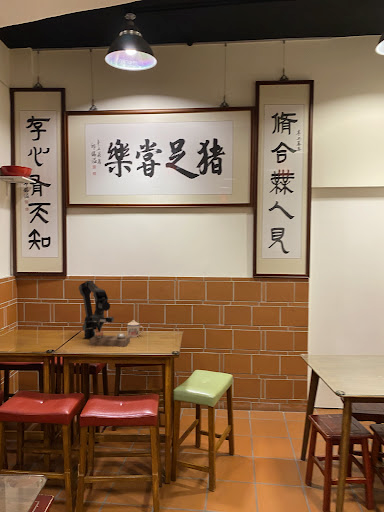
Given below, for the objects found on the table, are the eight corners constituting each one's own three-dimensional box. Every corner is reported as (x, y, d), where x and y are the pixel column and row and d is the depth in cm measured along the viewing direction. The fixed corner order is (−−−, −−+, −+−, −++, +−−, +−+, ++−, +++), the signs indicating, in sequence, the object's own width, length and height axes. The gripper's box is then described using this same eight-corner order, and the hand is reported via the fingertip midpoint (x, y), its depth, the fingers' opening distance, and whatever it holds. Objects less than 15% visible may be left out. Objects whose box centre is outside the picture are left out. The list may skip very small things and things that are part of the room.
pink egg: (94, 341, 264) (94, 332, 264) (96, 340, 269) (97, 330, 269) (101, 342, 264) (101, 332, 263) (104, 340, 269) (104, 331, 268)
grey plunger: (115, 344, 262) (116, 335, 262) (118, 342, 268) (118, 333, 267) (123, 344, 262) (123, 335, 262) (125, 343, 267) (125, 333, 267)
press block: (89, 345, 261) (89, 339, 261) (96, 340, 273) (96, 334, 273) (124, 346, 258) (125, 340, 258) (129, 342, 270) (129, 336, 270)
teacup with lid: (126, 337, 283) (127, 321, 282) (127, 334, 292) (127, 319, 291) (143, 337, 285) (143, 321, 284) (143, 334, 294) (143, 319, 293)
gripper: (81, 310, 259) (81, 333, 259) (109, 311, 257) (108, 335, 257) (87, 307, 270) (87, 330, 270) (114, 308, 268) (114, 331, 268)
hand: (99, 331), depth 266 cm, fingers closed, pressing on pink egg
